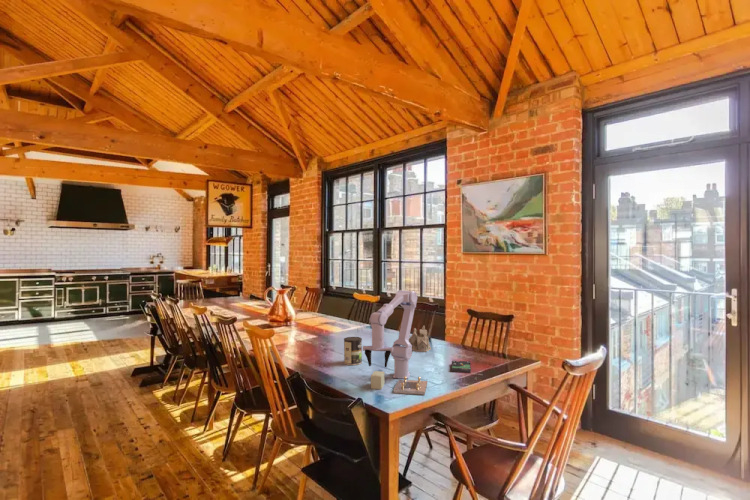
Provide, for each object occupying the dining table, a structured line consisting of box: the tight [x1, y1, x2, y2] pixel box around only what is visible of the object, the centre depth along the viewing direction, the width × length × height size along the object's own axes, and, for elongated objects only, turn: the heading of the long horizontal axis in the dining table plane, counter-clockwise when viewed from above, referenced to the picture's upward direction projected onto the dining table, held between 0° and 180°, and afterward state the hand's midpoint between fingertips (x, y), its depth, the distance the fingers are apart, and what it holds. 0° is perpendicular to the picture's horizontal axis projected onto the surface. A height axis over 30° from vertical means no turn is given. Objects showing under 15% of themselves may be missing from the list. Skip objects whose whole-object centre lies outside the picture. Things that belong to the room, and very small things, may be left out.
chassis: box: [393, 376, 428, 396], centre depth 195 cm, size 15×14×4 cm
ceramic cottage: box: [408, 325, 432, 353], centre depth 272 cm, size 16×16×15 cm
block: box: [370, 370, 386, 390], centre depth 199 cm, size 8×5×6 cm, turn 168°
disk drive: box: [450, 360, 472, 374], centre depth 228 cm, size 10×3×15 cm
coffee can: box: [343, 336, 363, 366], centre depth 240 cm, size 10×10×14 cm
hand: (377, 366), depth 199 cm, fingers open, 7 cm apart
